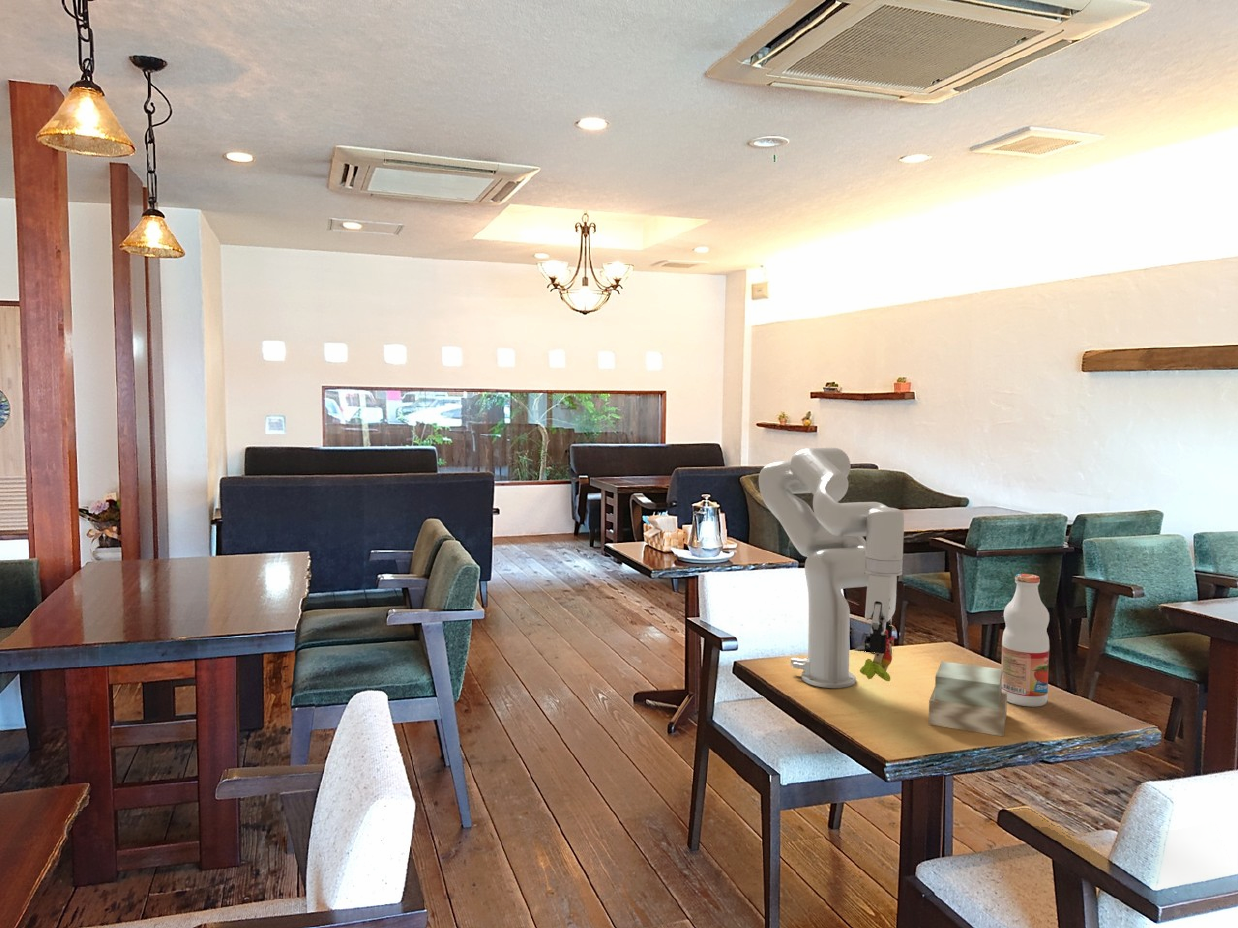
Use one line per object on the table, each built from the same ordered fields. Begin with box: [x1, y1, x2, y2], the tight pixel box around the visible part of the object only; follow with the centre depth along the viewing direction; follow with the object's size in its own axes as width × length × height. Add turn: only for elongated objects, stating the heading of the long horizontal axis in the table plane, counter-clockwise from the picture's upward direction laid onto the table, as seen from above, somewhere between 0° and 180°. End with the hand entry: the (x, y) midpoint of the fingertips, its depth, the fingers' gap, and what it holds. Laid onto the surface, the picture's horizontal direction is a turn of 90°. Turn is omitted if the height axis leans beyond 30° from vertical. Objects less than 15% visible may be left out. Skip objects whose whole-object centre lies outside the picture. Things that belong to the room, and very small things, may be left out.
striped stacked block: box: [928, 661, 1008, 737], centre depth 175 cm, size 14×13×10 cm
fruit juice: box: [1000, 573, 1050, 708], centre depth 186 cm, size 9×9×28 cm
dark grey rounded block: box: [853, 633, 870, 653], centre depth 225 cm, size 12×7×5 cm, turn 56°
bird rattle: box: [859, 629, 896, 682], centre depth 180 cm, size 6×11×9 cm
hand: (880, 646), depth 180 cm, fingers closed on bird rattle, 6 cm apart
